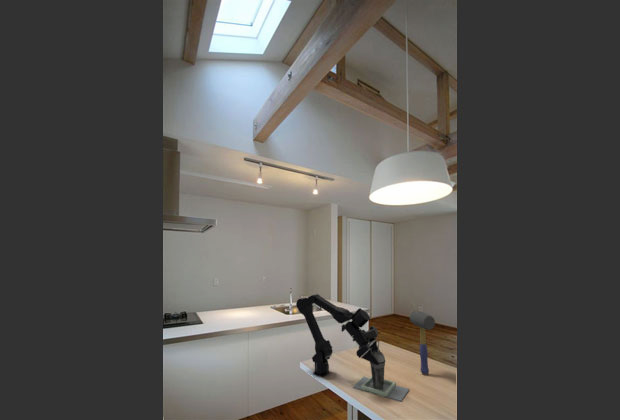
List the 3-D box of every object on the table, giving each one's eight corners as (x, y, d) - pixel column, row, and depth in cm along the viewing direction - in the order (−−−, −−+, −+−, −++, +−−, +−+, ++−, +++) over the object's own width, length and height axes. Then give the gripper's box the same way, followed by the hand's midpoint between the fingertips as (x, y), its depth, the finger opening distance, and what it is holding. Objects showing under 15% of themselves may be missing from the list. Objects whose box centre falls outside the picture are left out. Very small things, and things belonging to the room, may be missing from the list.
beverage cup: (367, 384, 132) (365, 339, 135) (380, 382, 135) (378, 337, 138) (375, 392, 126) (374, 344, 128) (389, 389, 128) (387, 342, 131)
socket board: (352, 387, 131) (352, 383, 131) (363, 377, 141) (363, 374, 141) (401, 402, 119) (400, 397, 119) (409, 390, 129) (408, 385, 129)
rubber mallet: (439, 378, 140) (435, 314, 144) (426, 380, 138) (423, 315, 142) (423, 368, 152) (420, 309, 156) (410, 370, 150) (408, 310, 154)
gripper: (362, 326, 127) (389, 356, 121) (371, 317, 144) (395, 343, 138) (346, 343, 130) (371, 373, 124) (356, 331, 146) (379, 358, 140)
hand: (380, 360), depth 131 cm, fingers open, 9 cm apart
